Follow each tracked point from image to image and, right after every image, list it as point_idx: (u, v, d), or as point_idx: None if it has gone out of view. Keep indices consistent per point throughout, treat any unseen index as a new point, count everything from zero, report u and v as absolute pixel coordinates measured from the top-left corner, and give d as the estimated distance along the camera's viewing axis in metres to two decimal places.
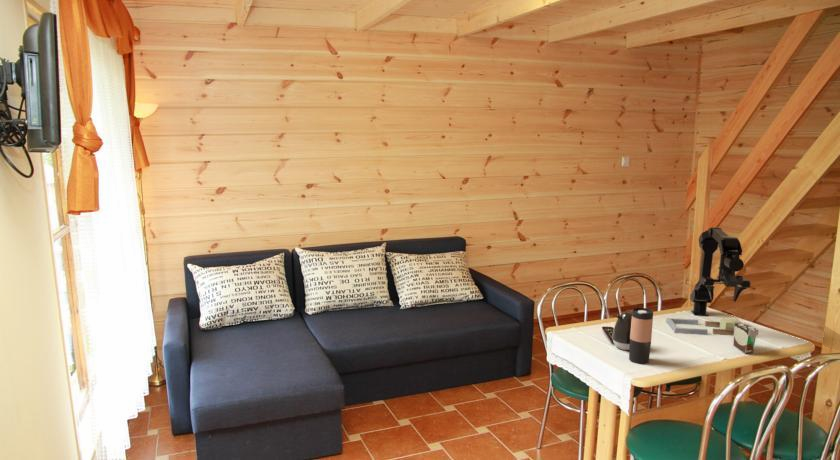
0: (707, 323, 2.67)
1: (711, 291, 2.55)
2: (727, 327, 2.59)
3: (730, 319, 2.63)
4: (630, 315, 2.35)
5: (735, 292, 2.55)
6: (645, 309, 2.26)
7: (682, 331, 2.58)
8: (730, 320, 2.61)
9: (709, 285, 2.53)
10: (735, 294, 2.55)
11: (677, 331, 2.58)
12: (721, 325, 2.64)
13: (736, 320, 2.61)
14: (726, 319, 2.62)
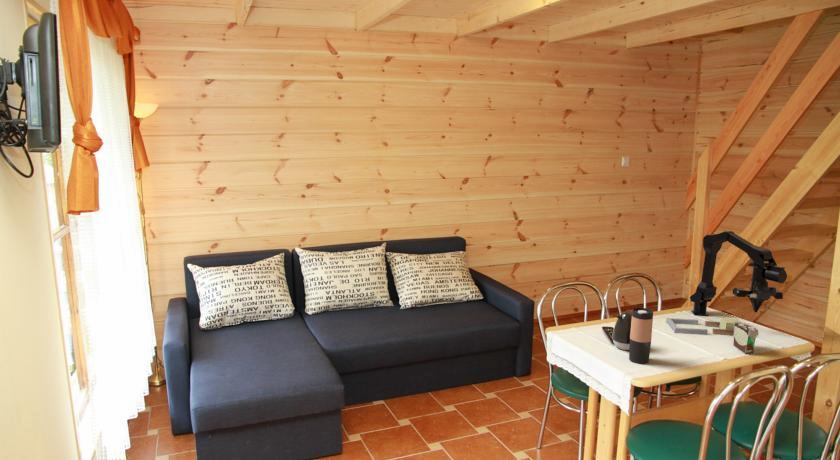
0: (707, 323, 2.67)
1: (754, 303, 2.57)
2: (727, 327, 2.58)
3: (730, 319, 2.63)
4: (630, 315, 2.35)
5: None
6: (645, 309, 2.26)
7: (682, 331, 2.58)
8: (730, 320, 2.61)
9: (742, 296, 2.56)
10: None
11: (677, 331, 2.58)
12: (721, 325, 2.63)
13: (736, 320, 2.61)
14: (726, 319, 2.62)
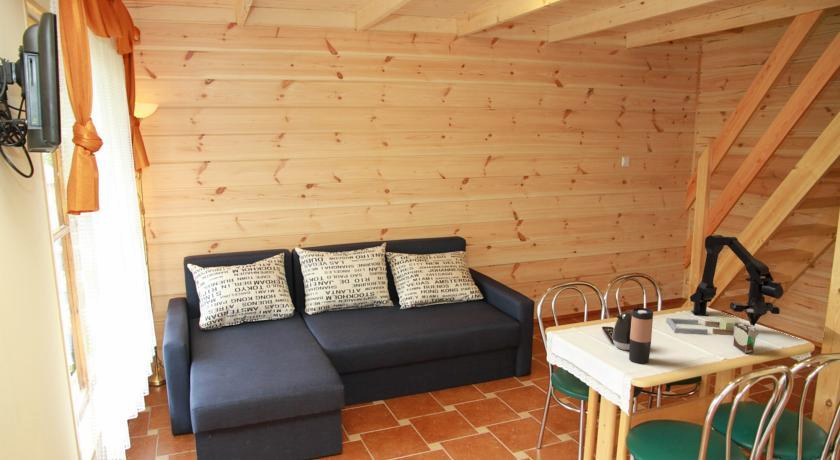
0: (707, 323, 2.67)
1: (751, 318, 2.58)
2: (727, 327, 2.58)
3: (730, 319, 2.63)
4: (630, 315, 2.35)
5: None
6: (645, 309, 2.26)
7: (682, 331, 2.58)
8: (730, 320, 2.61)
9: (739, 311, 2.57)
10: None
11: (677, 331, 2.58)
12: (721, 325, 2.63)
13: (736, 320, 2.61)
14: (726, 319, 2.62)
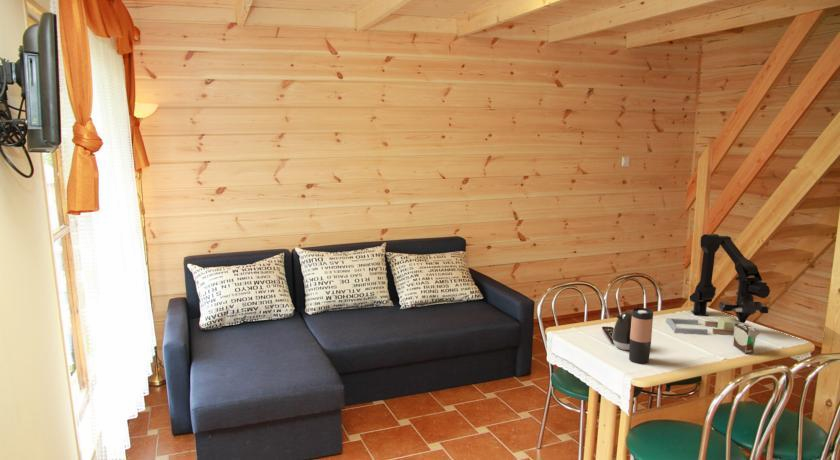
0: (707, 323, 2.67)
1: (740, 317, 2.59)
2: (725, 327, 2.59)
3: (728, 319, 2.63)
4: (630, 315, 2.35)
5: None
6: (645, 309, 2.26)
7: (682, 331, 2.58)
8: (728, 320, 2.61)
9: None
10: None
11: (677, 331, 2.58)
12: (719, 325, 2.64)
13: (734, 320, 2.62)
14: (724, 319, 2.62)
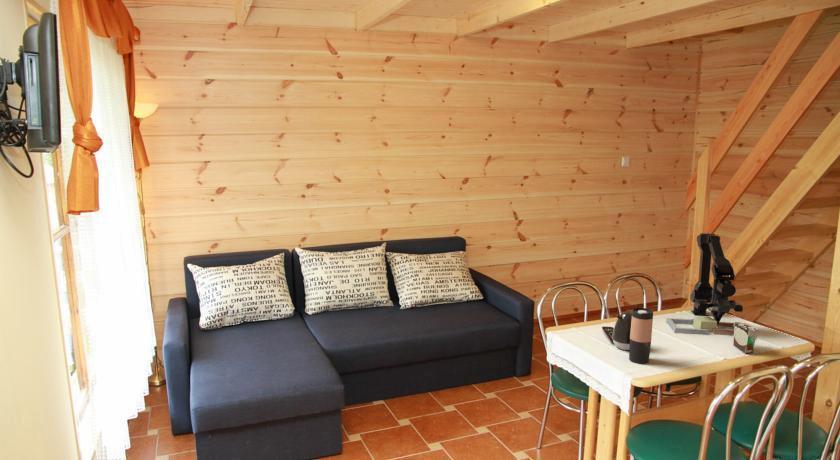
0: None
1: (715, 315, 2.61)
2: (702, 326, 2.59)
3: (703, 318, 2.64)
4: (630, 315, 2.35)
5: None
6: (645, 309, 2.26)
7: (682, 331, 2.58)
8: (704, 319, 2.62)
9: (703, 309, 2.59)
10: None
11: (677, 331, 2.58)
12: (695, 324, 2.64)
13: (709, 318, 2.63)
14: (700, 318, 2.63)
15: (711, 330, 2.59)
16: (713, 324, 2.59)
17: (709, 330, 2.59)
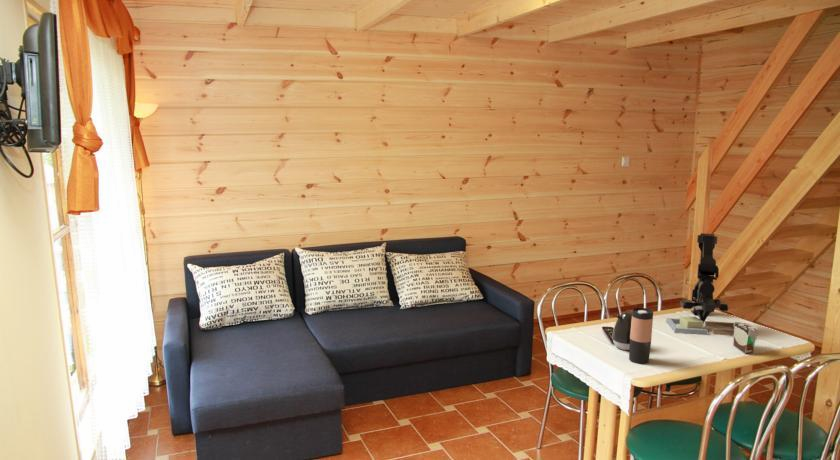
0: (707, 323, 2.67)
1: (701, 314, 2.62)
2: (689, 326, 2.59)
3: (690, 318, 2.64)
4: (630, 315, 2.35)
5: (703, 314, 2.63)
6: (645, 309, 2.26)
7: (682, 331, 2.58)
8: (690, 319, 2.62)
9: (688, 308, 2.60)
10: (703, 317, 2.63)
11: (677, 331, 2.58)
12: (681, 324, 2.64)
13: (695, 318, 2.63)
14: (686, 318, 2.63)
15: None
16: (699, 324, 2.59)
17: None
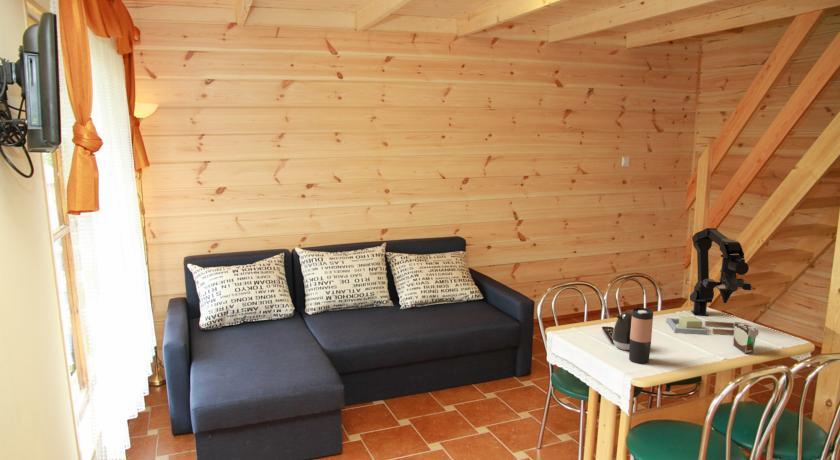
0: (707, 323, 2.67)
1: (723, 294, 2.62)
2: (688, 326, 2.60)
3: (689, 317, 2.64)
4: (630, 315, 2.35)
5: (726, 294, 2.63)
6: (645, 309, 2.26)
7: (682, 331, 2.58)
8: (689, 319, 2.62)
9: (711, 287, 2.61)
10: None
11: (677, 331, 2.58)
12: (681, 324, 2.64)
13: (695, 318, 2.63)
14: (685, 318, 2.63)
15: None
16: (699, 323, 2.60)
17: None
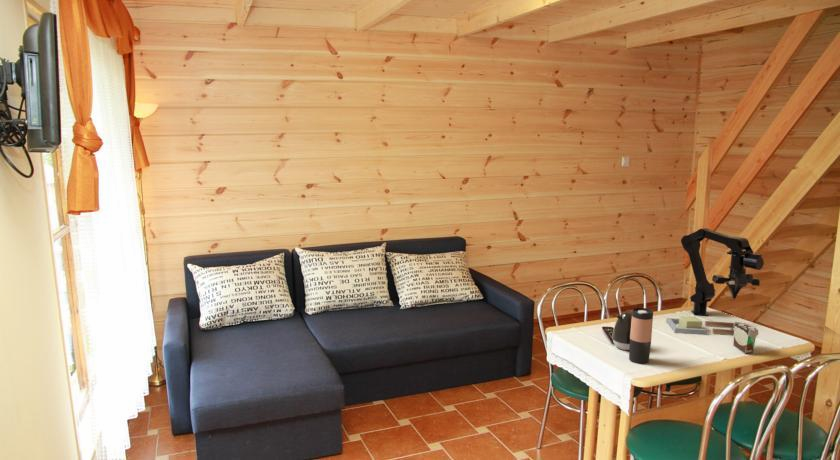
0: (707, 323, 2.67)
1: (733, 289, 2.68)
2: (688, 326, 2.59)
3: (689, 317, 2.64)
4: (630, 315, 2.35)
5: (735, 289, 2.70)
6: (645, 309, 2.26)
7: (682, 331, 2.58)
8: (689, 319, 2.62)
9: (720, 283, 2.67)
10: (735, 292, 2.70)
11: (677, 331, 2.58)
12: (681, 324, 2.64)
13: (695, 318, 2.63)
14: (685, 318, 2.63)
15: None
16: (699, 323, 2.60)
17: None
